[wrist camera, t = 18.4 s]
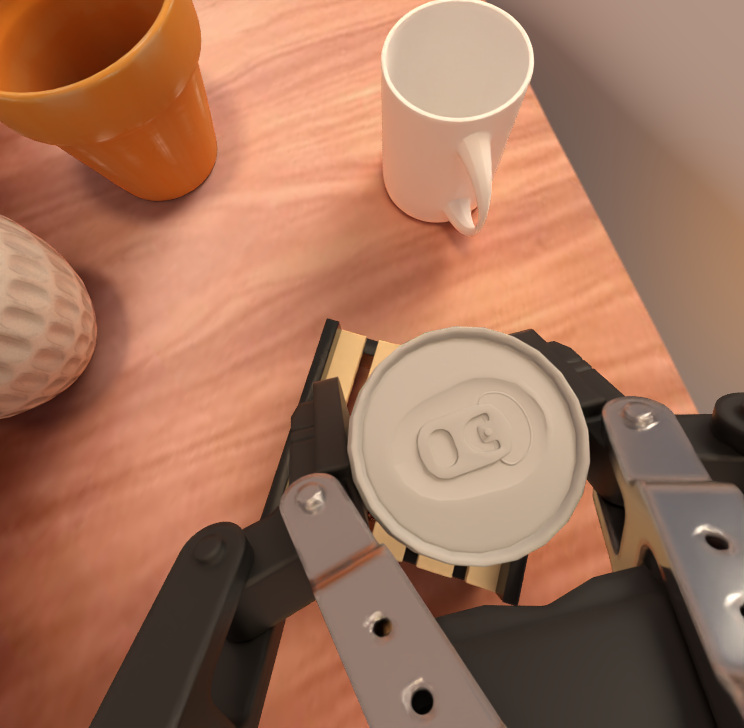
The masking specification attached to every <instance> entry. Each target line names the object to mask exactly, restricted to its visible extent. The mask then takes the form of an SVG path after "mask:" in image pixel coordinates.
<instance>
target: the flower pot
mask: <svg viewBox="0 0 744 728" xmlns="http://www.w3.org/2000/svg"><path fill="white" fill-rule="evenodd" d="M200 50H201V31H200V25H199V20H198V17H197V14H196V11H195V8H194V5H193V3H192V0H0V121H1V122H2V123H4V124H5V125H6V126H8V127H9V128H11V129H12V130H14V131H15V132H17V133H19V134H21V135H23V136H25V137H27V138H30V139H32V140H35V141H38V142H42V143H46V144H50V145H56V146H58V147H60V148H61V149H63V150H64V151H66V152H67V153H69V154H70V155H72V156H73V157H75V158H76V159H78V160H79V161H81V162H82V163H84V164H85V165H87V166H89V167H90V168H92V169H93V170H95V171H96V172H98V173H99V174H101V175H102V176H104V177H106V178H107V179H109V180H110V181H112V182H113V183H115V184H116V185H118V186H120V187H121V188H123V189H124V190H126V191H128V192H129V193H131V194H133V195H135V196H137V197H139V198H143V199H147V200H153V201H164V200H170V199H174V198H178V197H181V196H183V195H185V194H187V193H189V192H191V191H192V190H194V189H195V188H197V187H198V186H199V185H200V184H201V183H202V182H203V181H204V180H205V179H206V178H207V177H208V175H209V174H210V172H211V171H212V168H213V166H214V164H215V161H216V156H217V142H216V136H215V132H214V128H213V123H212V118H211V113H210V109H209V104H208V100H207V96H206V92H205V88H204V84H203V80H202V76H201V72H200V68H199V65H198V60H199V56H200Z"/></svg>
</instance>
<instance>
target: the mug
mask: <svg viewBox="0 0 744 728" xmlns="http://www.w3.org/2000/svg"><path fill="white" fill-rule="evenodd" d="M533 67H534V55H533V49H532V46H531V42H530V40H529V37H528V36H527V34H526V32H525V30H524V29H523V28H522V26H521V25H520V24H519V23H518V22H517V21H516V20H515V19H514V18H513V17H512V16H510V15H509V14H508V13H507V12H505V11H503V10H502V9H500V8H498V7H496V6H494V5H491V4H489V3H486V2H483V1H479V0H436V1H432V2H429V3H426V4H423V5H421V6H419V7H417V8H415V9H413V10H412V11H410V12H408V13H407V14H406V15H404V16H403V17H402V18H401V19H400V20H399V21H398V22H397V23H396V24H395V25H394V27H393V28H392V29H391V31H390V32H389V34H388V36H387V38H386V40H385V43H384V45H383V49H382V53H381V97H382V156H383V177H384V182H385V186H386V189H387V192H388V194H389V196H390V198H391V199H392V201H393V202H394V203H395V204H396V205H397V206H398V207H399V208H400V209H401V210H402V211H404V212H405V213H406V214H408V215H410V216H411V217H414V218H416V219H418V220H422V221H426V222H437V223H439V222H448V221H450V223H451V224H452V225H453V226H454V227H455V229H456V230H457V231H458V232H460V233H461V234H463V235H465V236H468V237H473V236H475V235H477V234H478V233H479V232H480V231H481V229H482V228H483V226H484V224H485V221H486V218H487V215H488V211H489V207H490V201H491V190H492V181H493V178H494V176H495V173H496V170H497V168H498V165H499V162H500V160H501V157H502V155H503V152H504V149H505V147H506V144H507V141H508V139H509V136H510V133H511V131H512V128H513V125H514V123H515V120H516V117H517V115H518V112H519V109H520V107H521V104H522V101H523V99H524V96H525V93H526V91H527V88H528V85H529V83H530V80H531V77H532V73H533ZM477 206H478V223H477V226H476V227H475V226H474V224H473V221H472V217H471V211H472V210H474V209H475V208H476V207H477Z"/></svg>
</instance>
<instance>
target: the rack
mask: <svg viewBox="0 0 744 728" xmlns="http://www.w3.org/2000/svg"><path fill="white" fill-rule="evenodd" d="M399 346H400V345H397V344H394V343H390V342H386V341H383V340H379V342H378V341H374V340H371V339H367V337H366V336H364V335H360V334H357V333H353V332H349V331H346V330H342V329H341V326H340V323H339V322H338V321H335V320H332V319H327V320H326V322H325V325H324V328H323V332H322V335H321V338H320V341H319V344H318V347H317V350H316V353H315V356H314V359H313V362H312V365H311V368H310V371H309V374H308V377H307V380H306V383H305V386H304V389H303V392H302V395H301V398H300V401H299V404H301V403H305V402H309V401H313V382H317V381H321V380H325V379H329V378H333V377H337V376H338V378H339V381H340V384H341V387H342V391H343V394H344V398H345V401H346V405H347V403H348V400H349V397H350V393H351V390H352V387H353V384H354V380H355V377H356V374H357V370H358V367H359V366H362V367H365V368H369V369H370V372H369V375H368V378H369V376H370V375H371V373H372V372H373V370H374V369H375V368H376V367H377V366H378V364H379V363H381V362H382V361H383V360H384V359H385V358H386V357H387V356H389V355H390V354H391V353H392V352H393V351H394V350H395V349H397V348H398V347H399ZM368 378H367V379H368ZM290 433H291V428H290V431H289V434H288V437H287V440H286V443H285V446H284V449H283V452H282V455H281V458H280V461H279V465H278V468H277V471H276V474H275V477H274V480H273V483H272V486H271V489H270V492H269V495H268V498H267V501H266V504H265V507H264V510H263V513H262V516H261V519H263V518H265V517H266V516H268V515H269V514H270V513H272V512H273V511H274V510H275V509H276V508H277V507H278V506H279V505H280V500H281V497H282V495H283V493H284V492H285V490H286V489H287V488H288V486H289V462H290V444H291V442H290ZM261 519H260V520H261ZM368 521H369V528H370V531H371V532H372V534H373V535H374V537H375V539H376V540H377V541H378V543H379V544H381V543H384V544H385V545H386V546H387V547H388V549H389V550H390V551H391V553H392V554H393V556H394V557H395V559H396V560H397V561H399V562H402V561H405V562H408V563H412V564H415V565H416V567H418V568H421V569H424V570H427V571H430V572H433V573H436V574H439V575H442V576H445V577H449V578H451V577H455V578H458V579H461V580H464V581H465V582H466V583H468V584H471V585H474V586H477V587H480V588H483V589H486V590H489V591H492V592H495V593H496V594H497V595H498V596H499V598H500V599H501V600H502V601H503V602H505V603H508V604H511V605H514V606H518V602H519V597H520V592H521V587H522V583H523V578H524V573H525V568H526V563H527V558H528V555H526V556H524V557H522V558H520V559H518V560H516V561H512V562H507V563H502V564H498V565H493V566H488V567H473V566H458V565H450V564H446V563H442V562H439V561H437V560H434V559H431V558H428V557H426V556H423V555H420V554H417V553H414V552H413V551H411V550H410V549H409V548H407V547H406V546H404V545H403V544H401V543H400V542H398V541H397V540H396V539H394V538H393V537H391V536H390V535H388V534H387V533H386V532H385V530H384V529H383V528H382V527H381V526H380V524H379V523H378V522H377V521H373V520H369V519H368Z"/></svg>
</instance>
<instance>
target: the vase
mask: <svg viewBox="0 0 744 728" xmlns="http://www.w3.org/2000/svg"><path fill="white" fill-rule="evenodd" d="M96 341H97V321H96V316H95V311H94V307H93V304H92V301H91V299H90V297H89V294H88V292H87V290H86V288H85V285H84V283H83V281H82V280H81V279H80V277H79V276H78V274H77V273H76V271H75V270H74V269H73V268H72V267H71V265H70V264H69V263H68V262H67V261H66V260H65V259H64V258H63V257H62V256H61V255H60V254H59V252H58V251H56V250H55V249H54V248H53V247H51V246H50V245H49V244H48V243H46V242H45V241H44V240H43V239H41V238H40V237H38V236H37V235H35V234H34V233H32V232H31V231H29V230H28V229H26V228H25V227H23V226H21V225H20V224H18V223H16V222H15V221H13V220H11V219H9V218H7V217H5V216H3V215H1V214H0V419H2V418H7V417H11V416H14V415H17V414H20V413H22V412H25V411H27V410H30V409H32V408H35V407H37V406H39V405H41V404H43V403H45V402H47V401H49V400H51V399H52V398H54V397H55V396H57V395H59V394H60V393H61V392H63V391H64V390H66V389H67V388H68V387H70V386H71V385H72V384H73V383H74V382H75V381H76V380H77V379H78V378H79V377H80V375H81V374H82V373H83V372H84V370H85V368H86V367H87V365H88V364H89V362H90V360H91V357H92V355H93V353H94V349H95V345H96Z"/></svg>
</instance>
